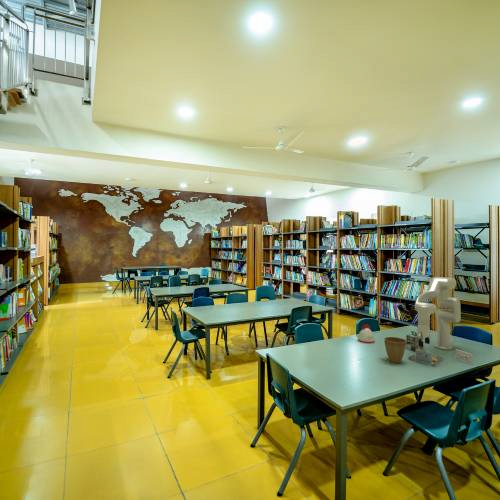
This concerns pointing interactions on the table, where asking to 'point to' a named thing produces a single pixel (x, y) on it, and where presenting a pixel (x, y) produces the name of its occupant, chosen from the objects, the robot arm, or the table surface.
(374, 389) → the table surface
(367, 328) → the cupcake
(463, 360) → the cassette
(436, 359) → the hinge base
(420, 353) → the grey block
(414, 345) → the model building
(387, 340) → the plant pot
